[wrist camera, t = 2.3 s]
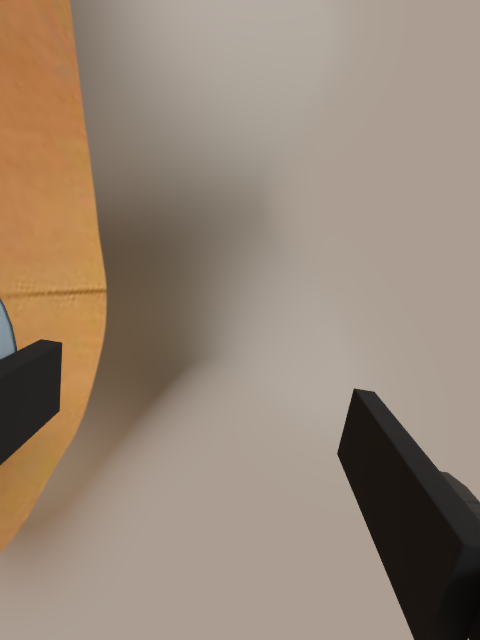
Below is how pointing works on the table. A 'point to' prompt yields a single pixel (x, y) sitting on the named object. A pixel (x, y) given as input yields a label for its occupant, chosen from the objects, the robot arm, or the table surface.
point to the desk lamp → (6, 334)
